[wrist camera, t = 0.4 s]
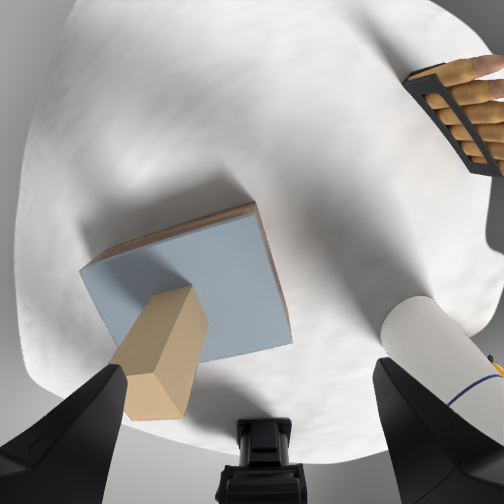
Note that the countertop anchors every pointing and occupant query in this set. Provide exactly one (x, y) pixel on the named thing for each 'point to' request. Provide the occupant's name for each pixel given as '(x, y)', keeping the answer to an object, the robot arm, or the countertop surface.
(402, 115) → the countertop surface
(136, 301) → the lid
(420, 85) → the ammunition clip
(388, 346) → the cylindrical container
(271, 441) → the robot arm
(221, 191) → the countertop surface
